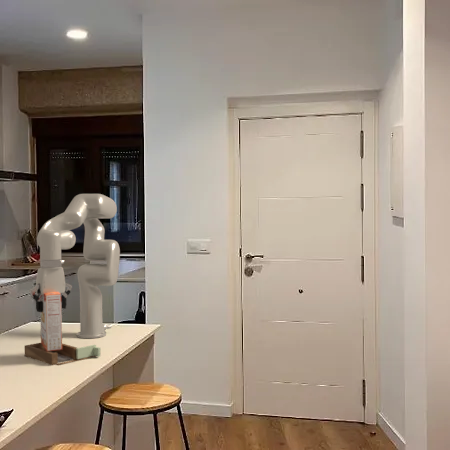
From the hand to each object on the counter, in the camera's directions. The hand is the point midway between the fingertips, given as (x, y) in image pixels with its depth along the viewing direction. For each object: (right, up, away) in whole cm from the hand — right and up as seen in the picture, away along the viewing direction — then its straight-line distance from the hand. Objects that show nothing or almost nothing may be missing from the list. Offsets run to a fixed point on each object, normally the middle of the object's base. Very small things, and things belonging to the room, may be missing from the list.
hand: (51, 309), depth 213 cm
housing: (+3, -18, +2) cm, 18 cm away
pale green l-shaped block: (+14, -17, -2) cm, 23 cm away
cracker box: (0, -14, 0) cm, 14 cm away
